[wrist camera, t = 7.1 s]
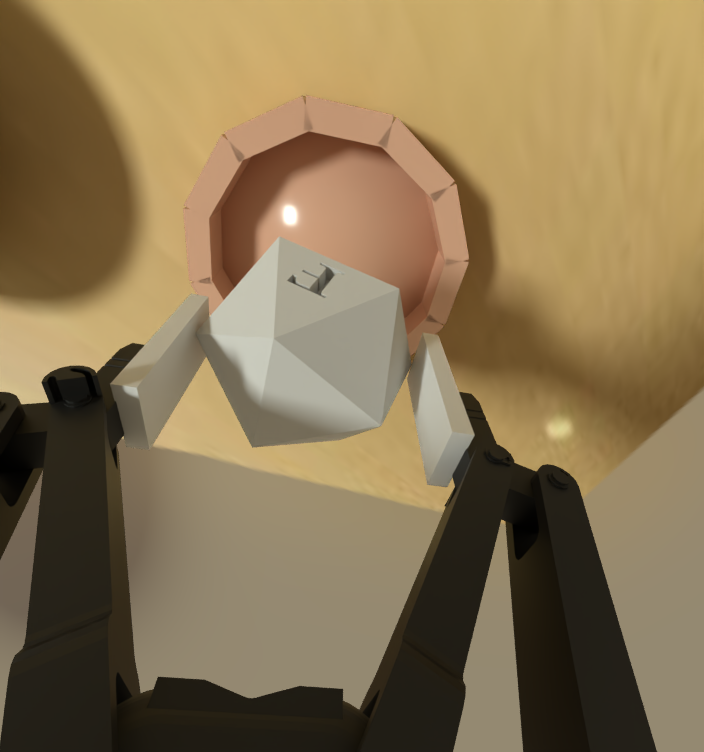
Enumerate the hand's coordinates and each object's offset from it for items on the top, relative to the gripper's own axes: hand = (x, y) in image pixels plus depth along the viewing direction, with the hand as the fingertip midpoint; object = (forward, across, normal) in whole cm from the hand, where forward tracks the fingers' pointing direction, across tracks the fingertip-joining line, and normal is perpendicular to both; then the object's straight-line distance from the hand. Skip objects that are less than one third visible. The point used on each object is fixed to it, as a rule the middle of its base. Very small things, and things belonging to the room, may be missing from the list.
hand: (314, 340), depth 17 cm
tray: (+12, 0, 0) cm, 12 cm away
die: (+3, 0, 0) cm, 3 cm away
